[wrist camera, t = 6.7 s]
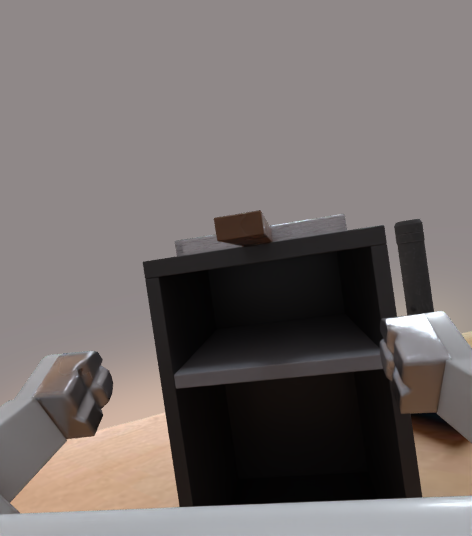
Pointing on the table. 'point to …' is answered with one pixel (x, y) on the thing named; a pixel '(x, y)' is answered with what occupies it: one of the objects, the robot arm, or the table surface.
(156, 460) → the table surface
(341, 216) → the rack
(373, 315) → the black grill cabinet
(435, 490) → the table surface
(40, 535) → the robot arm
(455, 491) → the table surface
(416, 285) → the flashlight
